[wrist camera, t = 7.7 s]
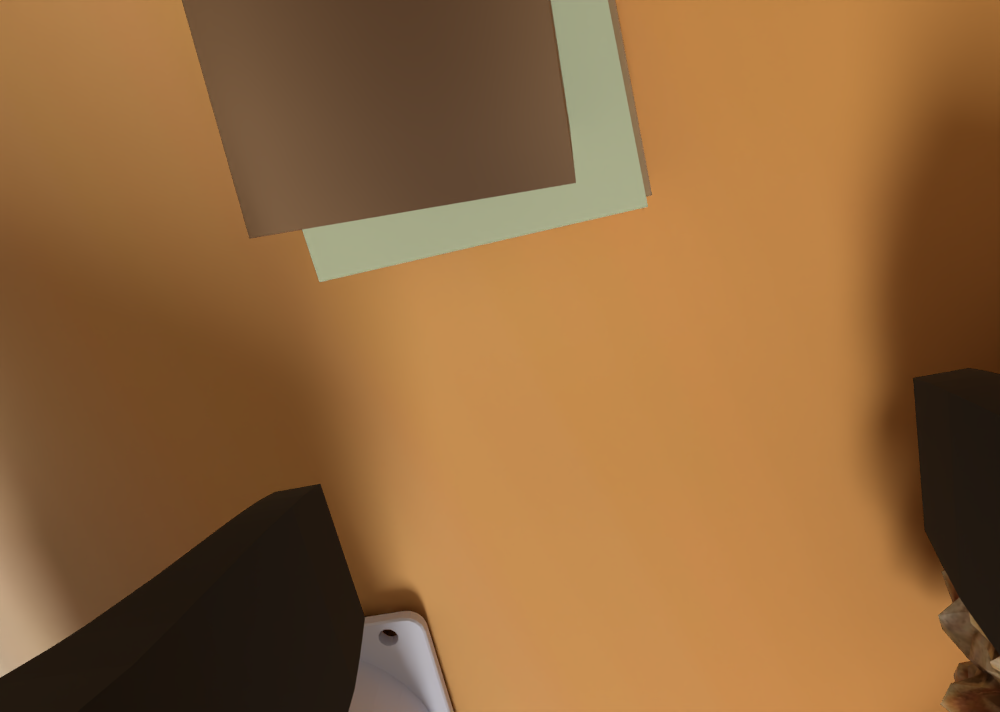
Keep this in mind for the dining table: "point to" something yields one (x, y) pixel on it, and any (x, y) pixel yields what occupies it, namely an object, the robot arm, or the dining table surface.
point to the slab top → (597, 192)
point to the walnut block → (381, 104)
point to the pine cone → (986, 677)
